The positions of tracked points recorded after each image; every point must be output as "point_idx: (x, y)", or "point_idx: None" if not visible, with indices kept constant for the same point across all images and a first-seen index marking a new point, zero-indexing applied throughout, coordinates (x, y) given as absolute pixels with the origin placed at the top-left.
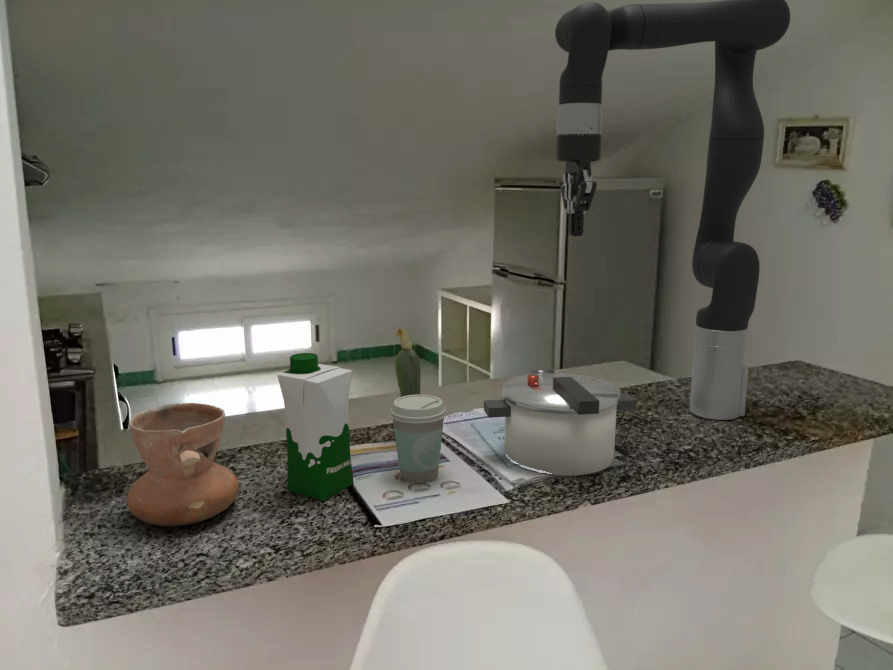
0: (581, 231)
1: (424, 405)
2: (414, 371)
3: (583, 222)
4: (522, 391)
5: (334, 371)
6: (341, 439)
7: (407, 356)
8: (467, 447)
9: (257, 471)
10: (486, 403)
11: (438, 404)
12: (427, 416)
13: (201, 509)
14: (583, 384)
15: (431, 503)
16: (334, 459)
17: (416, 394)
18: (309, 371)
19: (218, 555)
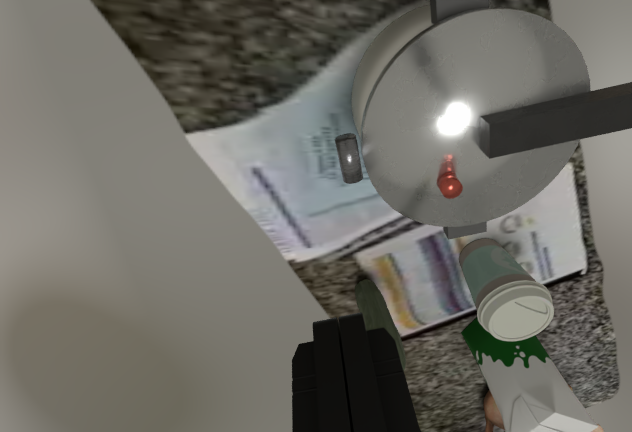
0: (387, 335)
1: (533, 311)
2: (400, 343)
3: (373, 376)
4: (483, 198)
5: (555, 424)
6: (542, 352)
7: (403, 369)
8: (400, 214)
9: (446, 371)
10: (463, 235)
11: (539, 299)
12: (551, 300)
13: (568, 385)
14: (456, 87)
15: (551, 236)
16: (538, 340)
17: (387, 314)
18: None
19: (594, 352)
